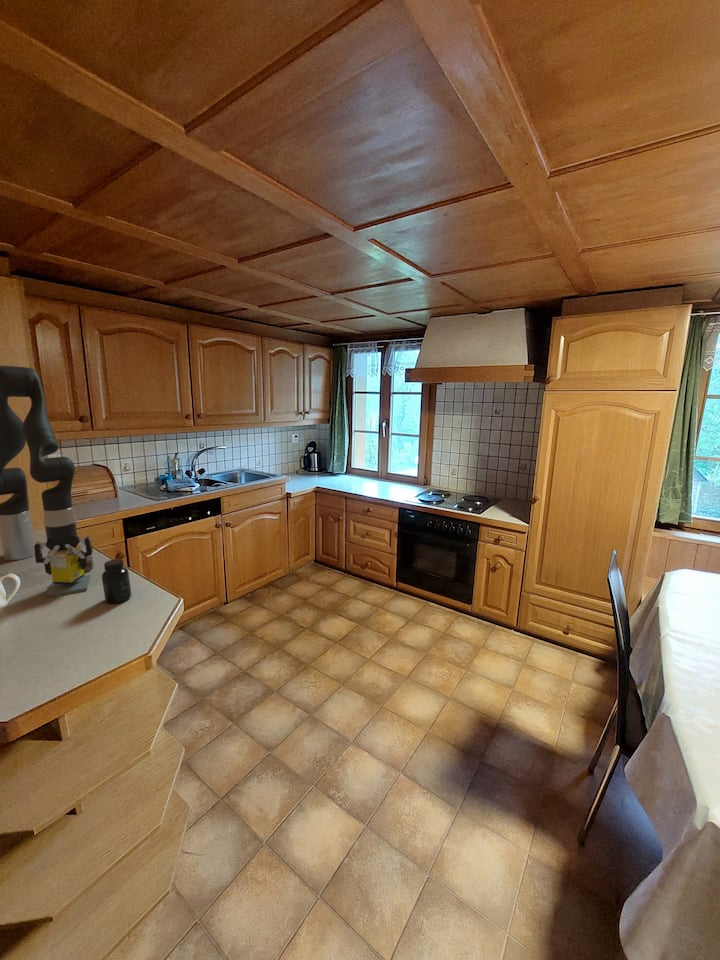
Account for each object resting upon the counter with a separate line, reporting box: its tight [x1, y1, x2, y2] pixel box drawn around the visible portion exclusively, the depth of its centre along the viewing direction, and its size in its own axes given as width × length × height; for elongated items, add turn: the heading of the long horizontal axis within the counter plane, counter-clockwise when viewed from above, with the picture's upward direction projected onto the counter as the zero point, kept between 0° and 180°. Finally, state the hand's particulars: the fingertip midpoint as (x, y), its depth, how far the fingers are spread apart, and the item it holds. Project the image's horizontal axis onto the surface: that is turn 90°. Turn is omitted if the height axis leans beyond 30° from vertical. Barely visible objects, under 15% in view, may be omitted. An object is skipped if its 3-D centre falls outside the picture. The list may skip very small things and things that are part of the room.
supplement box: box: [47, 544, 85, 584], centre depth 123 cm, size 6×6×11 cm
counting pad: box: [45, 574, 91, 598], centre depth 124 cm, size 10×10×1 cm
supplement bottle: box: [101, 558, 132, 605], centre depth 117 cm, size 7×7×12 cm
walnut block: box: [83, 555, 94, 572], centre depth 136 cm, size 4×4×4 cm
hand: (67, 571), depth 123 cm, fingers closed on supplement box, 8 cm apart
